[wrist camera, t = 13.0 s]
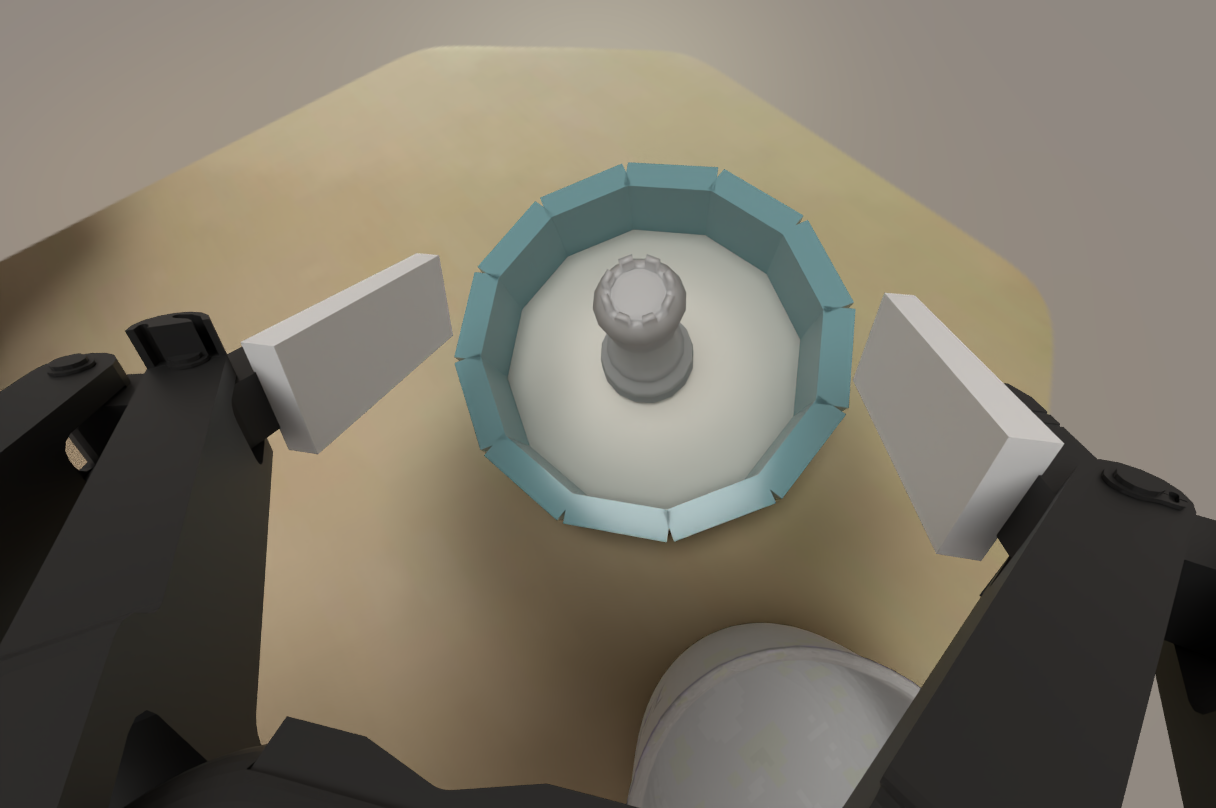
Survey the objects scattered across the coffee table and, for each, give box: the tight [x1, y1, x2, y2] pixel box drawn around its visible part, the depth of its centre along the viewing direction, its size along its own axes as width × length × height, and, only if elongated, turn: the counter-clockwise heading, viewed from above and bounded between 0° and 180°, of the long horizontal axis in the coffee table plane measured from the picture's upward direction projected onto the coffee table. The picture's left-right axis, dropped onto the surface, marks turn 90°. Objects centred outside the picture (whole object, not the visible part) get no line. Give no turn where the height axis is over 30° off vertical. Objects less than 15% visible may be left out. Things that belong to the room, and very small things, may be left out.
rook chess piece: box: [593, 254, 693, 403], centre depth 19 cm, size 4×4×8 cm
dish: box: [455, 163, 855, 542], centre depth 22 cm, size 16×16×4 cm
